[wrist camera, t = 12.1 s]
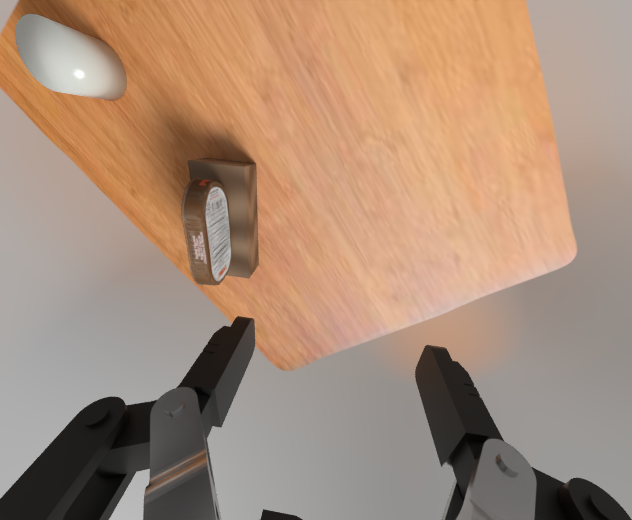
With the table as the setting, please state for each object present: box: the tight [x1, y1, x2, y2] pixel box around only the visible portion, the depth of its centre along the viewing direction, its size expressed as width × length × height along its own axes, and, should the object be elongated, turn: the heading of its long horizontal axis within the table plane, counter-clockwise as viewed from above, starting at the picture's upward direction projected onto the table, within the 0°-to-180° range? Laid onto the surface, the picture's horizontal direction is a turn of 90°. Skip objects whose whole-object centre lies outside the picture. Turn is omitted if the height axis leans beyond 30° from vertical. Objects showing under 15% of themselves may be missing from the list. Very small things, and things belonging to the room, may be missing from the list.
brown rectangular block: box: [188, 158, 259, 278], centre depth 39 cm, size 18×8×5 cm, turn 175°
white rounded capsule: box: [15, 14, 127, 101], centre depth 30 cm, size 7×7×7 cm
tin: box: [182, 178, 232, 285], centre depth 33 cm, size 15×3×8 cm, turn 174°
